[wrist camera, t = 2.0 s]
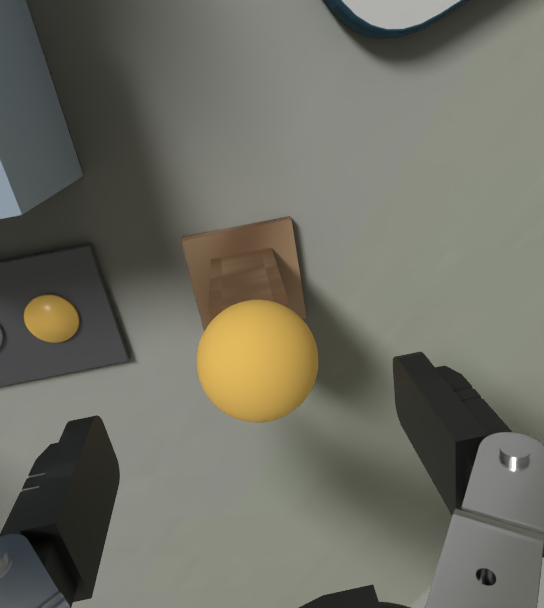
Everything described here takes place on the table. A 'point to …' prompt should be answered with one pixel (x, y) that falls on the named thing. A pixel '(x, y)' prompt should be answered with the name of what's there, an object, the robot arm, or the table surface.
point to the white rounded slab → (390, 15)
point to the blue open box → (29, 119)
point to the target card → (56, 316)
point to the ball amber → (257, 360)
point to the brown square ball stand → (244, 267)
